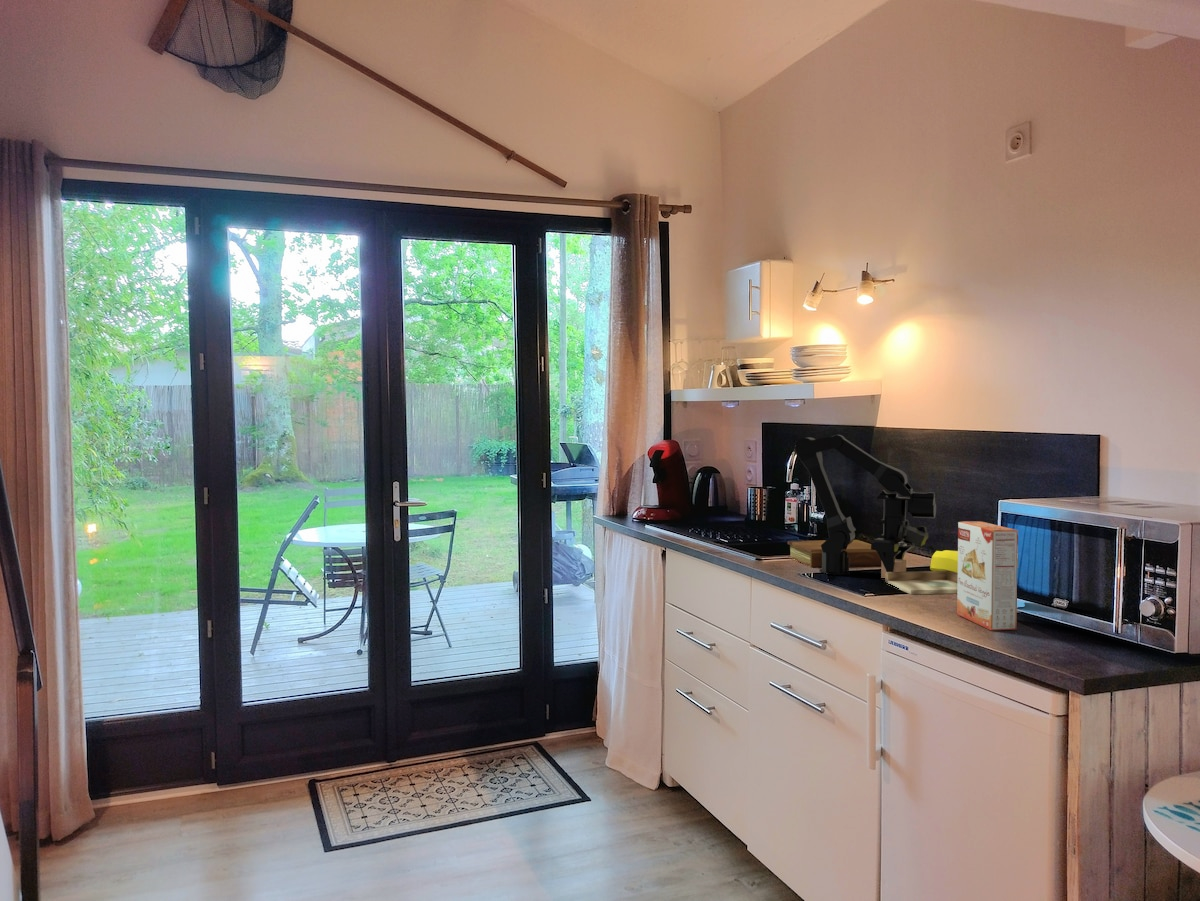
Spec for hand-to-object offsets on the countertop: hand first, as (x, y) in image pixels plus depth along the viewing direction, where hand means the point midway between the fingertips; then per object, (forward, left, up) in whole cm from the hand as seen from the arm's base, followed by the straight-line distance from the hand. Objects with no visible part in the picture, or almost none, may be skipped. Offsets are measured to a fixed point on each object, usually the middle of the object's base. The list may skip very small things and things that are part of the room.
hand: (893, 573), depth 230 cm
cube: (0, 0, -1) cm, 1 cm away
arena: (+4, -13, -1) cm, 14 cm away
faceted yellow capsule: (+20, +3, -2) cm, 20 cm away
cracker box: (-4, -50, -2) cm, 50 cm away
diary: (-5, +28, -2) cm, 29 cm away
